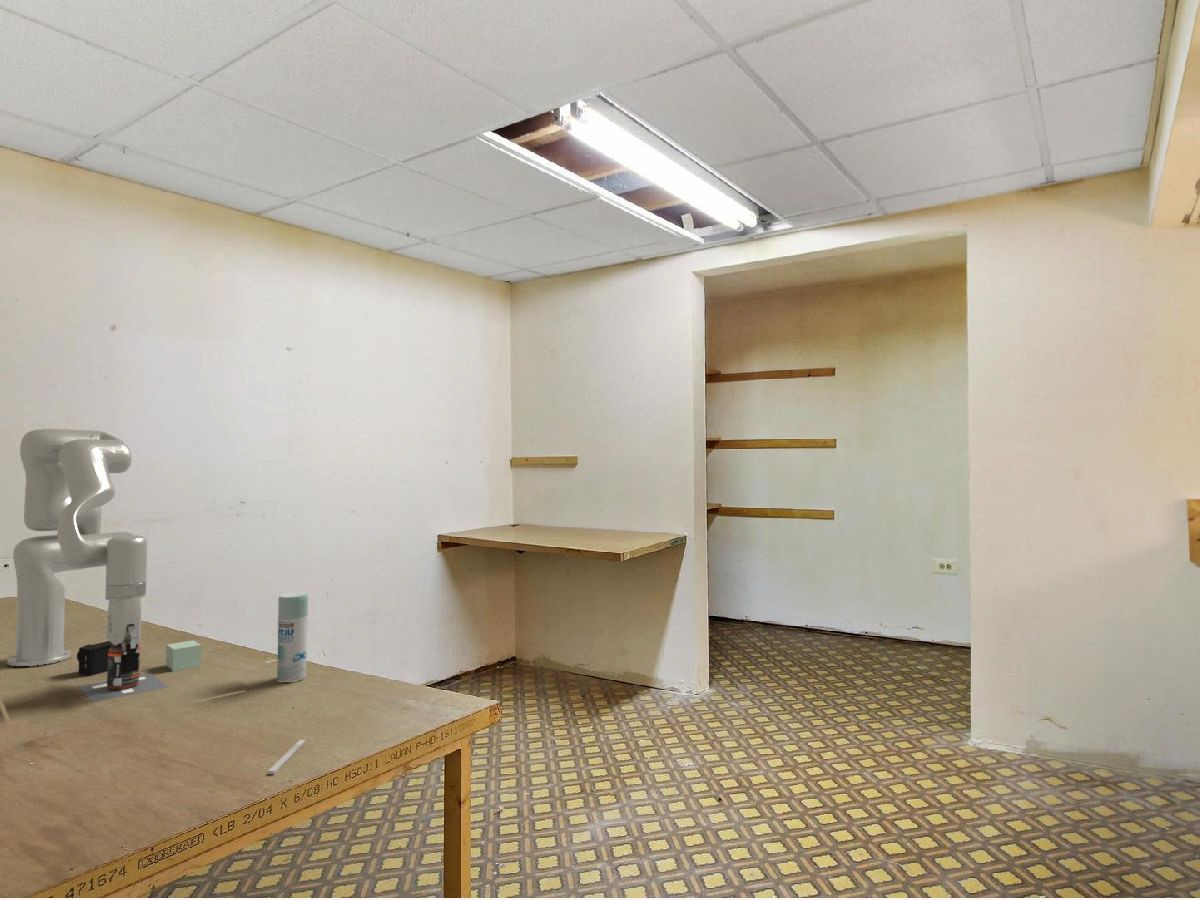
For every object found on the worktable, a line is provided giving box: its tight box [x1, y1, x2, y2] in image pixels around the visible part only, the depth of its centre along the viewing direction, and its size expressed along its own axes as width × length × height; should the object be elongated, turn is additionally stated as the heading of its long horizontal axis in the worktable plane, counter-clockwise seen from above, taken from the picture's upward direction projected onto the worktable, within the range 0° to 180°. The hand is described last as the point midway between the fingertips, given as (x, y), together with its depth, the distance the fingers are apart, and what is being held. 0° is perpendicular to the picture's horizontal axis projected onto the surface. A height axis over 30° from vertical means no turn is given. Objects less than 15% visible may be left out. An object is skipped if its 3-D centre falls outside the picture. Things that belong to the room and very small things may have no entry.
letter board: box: [78, 672, 169, 703], centre depth 153 cm, size 14×14×1 cm
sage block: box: [165, 640, 202, 672], centre depth 169 cm, size 6×6×6 cm
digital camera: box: [76, 640, 113, 677], centre depth 166 cm, size 10×5×7 cm, turn 158°
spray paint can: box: [276, 591, 309, 681], centre depth 162 cm, size 6×6×20 cm
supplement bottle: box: [106, 640, 141, 690], centre depth 153 cm, size 6×6×11 cm
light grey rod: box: [267, 739, 307, 775], centre depth 120 cm, size 12×1×1 cm, turn 1°
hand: (124, 666), depth 153 cm, fingers open, 9 cm apart
